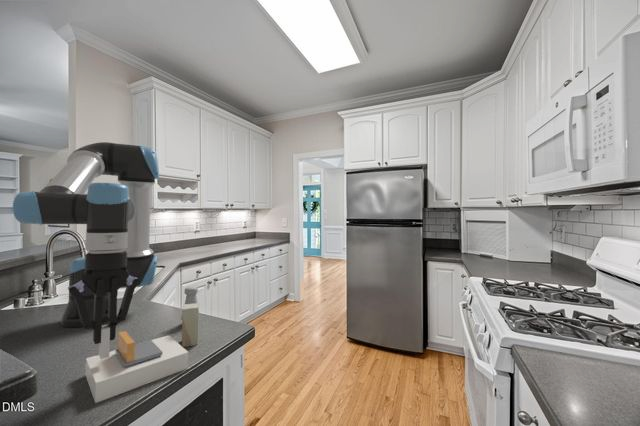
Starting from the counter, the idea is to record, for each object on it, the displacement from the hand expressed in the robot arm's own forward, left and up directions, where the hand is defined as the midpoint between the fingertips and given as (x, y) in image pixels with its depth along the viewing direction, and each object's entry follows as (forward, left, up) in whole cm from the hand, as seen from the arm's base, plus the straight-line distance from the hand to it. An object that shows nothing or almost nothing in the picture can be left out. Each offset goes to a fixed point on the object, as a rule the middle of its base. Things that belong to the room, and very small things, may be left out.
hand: (103, 355), depth 61 cm
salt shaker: (-22, +28, -6) cm, 36 cm away
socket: (0, +7, -6) cm, 9 cm away
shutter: (0, +7, -2) cm, 7 cm away
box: (-7, +22, -6) cm, 24 cm away
